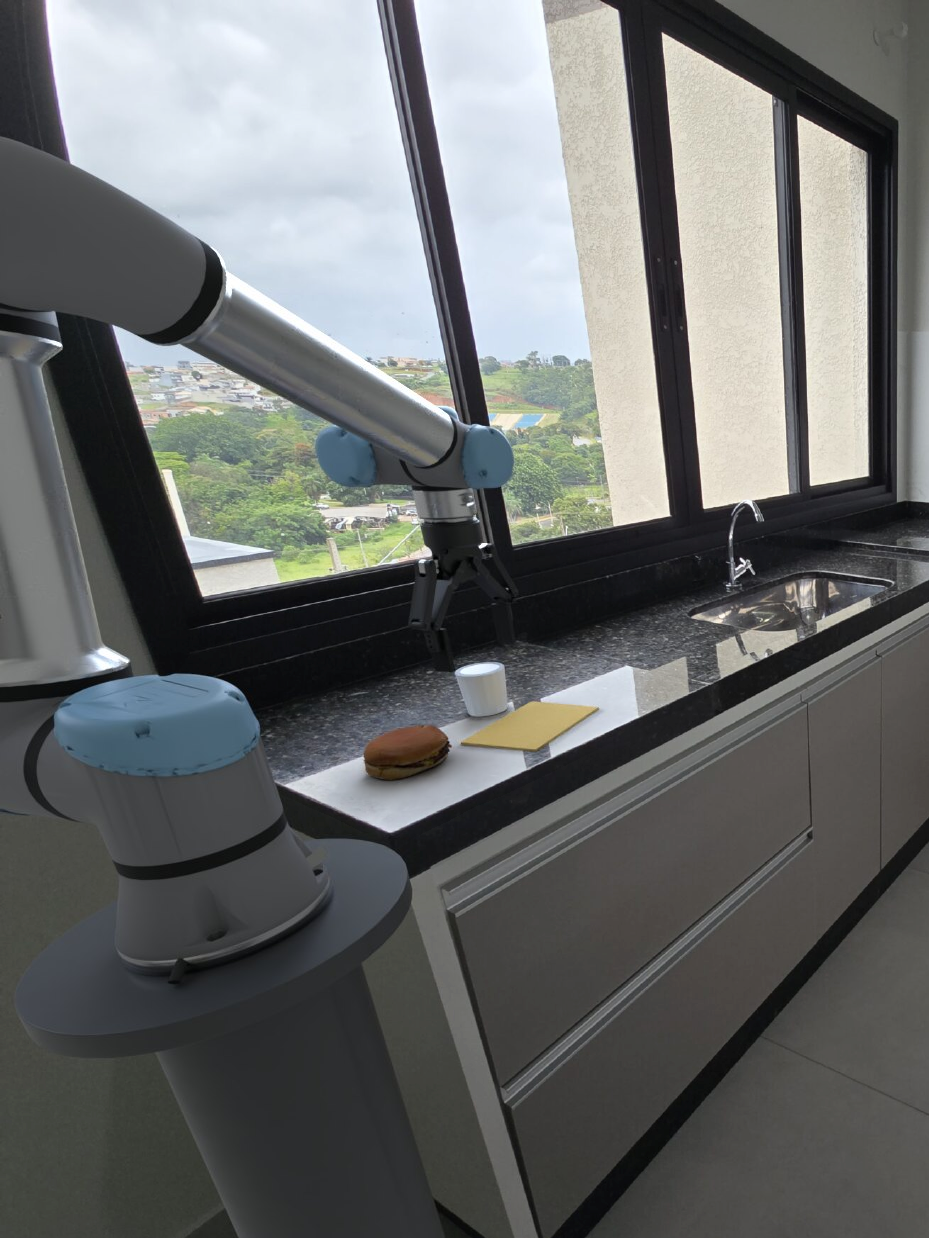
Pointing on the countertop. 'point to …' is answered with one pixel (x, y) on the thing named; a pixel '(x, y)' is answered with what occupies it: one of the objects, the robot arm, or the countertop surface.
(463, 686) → the shot glass
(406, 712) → the countertop surface
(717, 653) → the countertop surface
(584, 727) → the countertop surface
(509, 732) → the cloth
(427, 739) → the burger
